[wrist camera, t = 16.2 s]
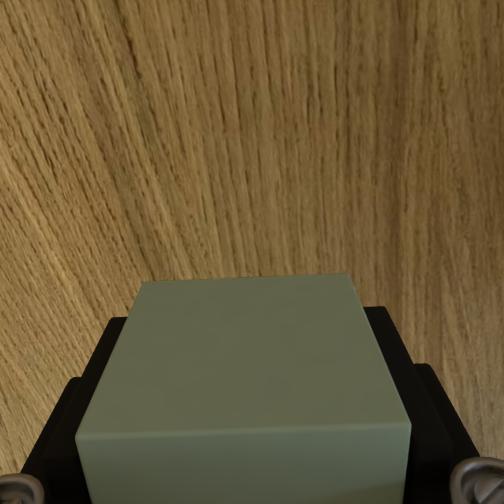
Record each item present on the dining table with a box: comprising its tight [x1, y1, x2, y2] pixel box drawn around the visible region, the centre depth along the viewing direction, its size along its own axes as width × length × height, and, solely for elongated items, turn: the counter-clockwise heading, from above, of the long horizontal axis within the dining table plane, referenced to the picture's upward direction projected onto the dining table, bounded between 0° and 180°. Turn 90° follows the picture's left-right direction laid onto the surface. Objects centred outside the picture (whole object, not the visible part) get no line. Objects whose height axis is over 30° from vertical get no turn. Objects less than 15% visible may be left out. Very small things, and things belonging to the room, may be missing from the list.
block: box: [75, 273, 411, 504], centre depth 9 cm, size 4×4×4 cm
